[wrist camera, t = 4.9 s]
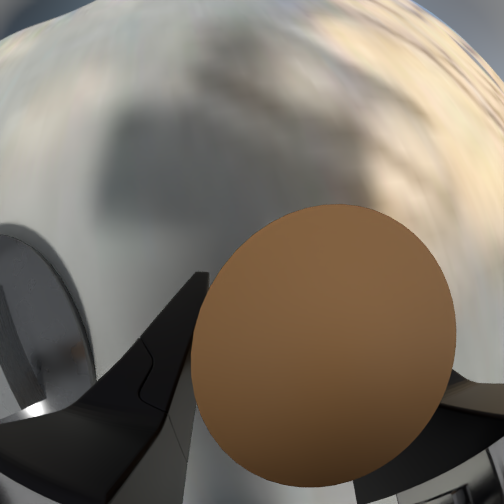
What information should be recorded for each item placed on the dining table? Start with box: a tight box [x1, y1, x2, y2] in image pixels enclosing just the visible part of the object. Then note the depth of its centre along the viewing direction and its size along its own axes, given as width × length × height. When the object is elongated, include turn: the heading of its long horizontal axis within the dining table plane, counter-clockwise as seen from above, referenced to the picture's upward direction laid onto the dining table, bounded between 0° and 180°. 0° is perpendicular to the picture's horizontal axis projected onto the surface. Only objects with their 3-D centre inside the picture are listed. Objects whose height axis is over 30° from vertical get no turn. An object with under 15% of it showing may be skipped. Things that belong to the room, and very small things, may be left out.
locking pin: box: [191, 204, 456, 487], centre depth 9 cm, size 4×4×12 cm
